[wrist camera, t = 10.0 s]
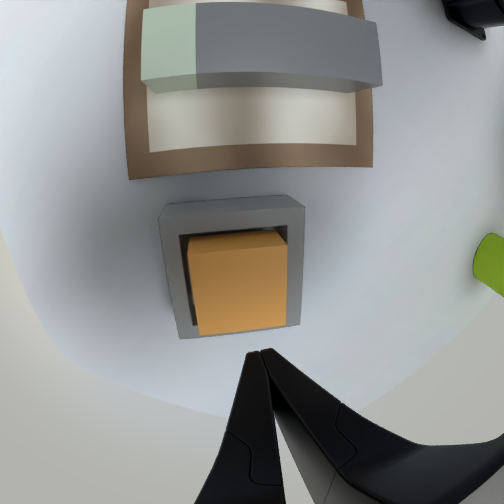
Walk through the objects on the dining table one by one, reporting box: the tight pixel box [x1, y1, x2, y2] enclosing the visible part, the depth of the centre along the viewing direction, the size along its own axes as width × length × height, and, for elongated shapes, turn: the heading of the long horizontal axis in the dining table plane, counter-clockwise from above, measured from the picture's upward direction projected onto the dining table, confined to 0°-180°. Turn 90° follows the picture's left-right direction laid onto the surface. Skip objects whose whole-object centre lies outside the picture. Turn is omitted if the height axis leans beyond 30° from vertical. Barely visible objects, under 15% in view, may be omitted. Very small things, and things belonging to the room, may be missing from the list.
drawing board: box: [123, 0, 373, 180], centre depth 15 cm, size 16×14×1 cm
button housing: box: [158, 195, 305, 339], centre depth 18 cm, size 8×8×4 cm
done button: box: [187, 230, 287, 336], centre depth 16 cm, size 5×5×3 cm
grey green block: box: [141, 2, 382, 94], centre depth 12 cm, size 12×4×4 cm, turn 92°
